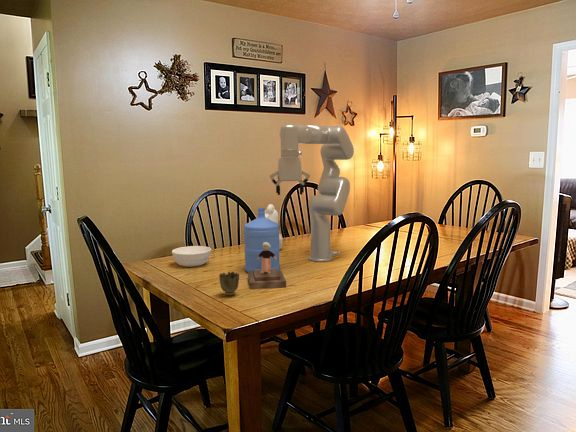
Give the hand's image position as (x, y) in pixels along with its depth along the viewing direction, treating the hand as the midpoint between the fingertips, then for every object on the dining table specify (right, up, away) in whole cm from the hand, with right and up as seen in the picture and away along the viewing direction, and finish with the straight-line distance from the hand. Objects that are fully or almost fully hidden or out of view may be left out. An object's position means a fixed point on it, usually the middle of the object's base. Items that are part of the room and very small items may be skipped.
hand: (290, 194), depth 196 cm
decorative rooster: (-13, -28, +47) cm, 56 cm away
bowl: (-46, -33, +20) cm, 60 cm away
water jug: (-12, -34, +8) cm, 37 cm away
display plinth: (-10, -36, -11) cm, 39 cm away
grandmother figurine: (-9, -32, -11) cm, 35 cm away
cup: (-23, -39, -26) cm, 52 cm away
